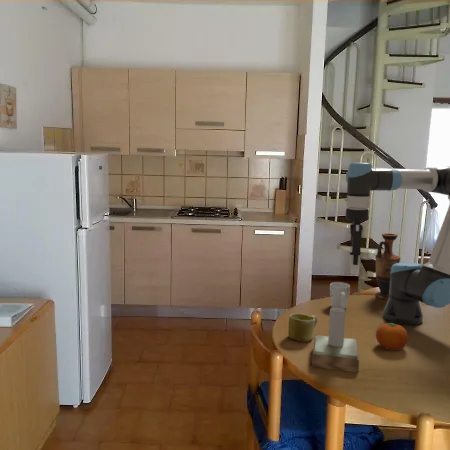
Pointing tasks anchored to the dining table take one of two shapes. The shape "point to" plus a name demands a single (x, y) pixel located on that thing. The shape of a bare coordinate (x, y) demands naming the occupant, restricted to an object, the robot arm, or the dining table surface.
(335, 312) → the beverage can
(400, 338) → the fruit
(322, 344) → the podium
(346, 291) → the mug
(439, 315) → the dining table surface
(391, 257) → the vase
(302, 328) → the mug
